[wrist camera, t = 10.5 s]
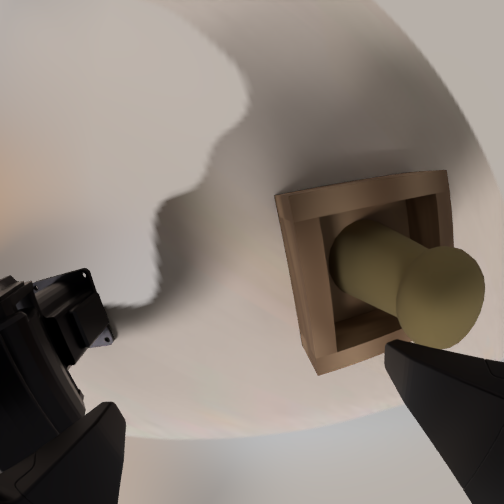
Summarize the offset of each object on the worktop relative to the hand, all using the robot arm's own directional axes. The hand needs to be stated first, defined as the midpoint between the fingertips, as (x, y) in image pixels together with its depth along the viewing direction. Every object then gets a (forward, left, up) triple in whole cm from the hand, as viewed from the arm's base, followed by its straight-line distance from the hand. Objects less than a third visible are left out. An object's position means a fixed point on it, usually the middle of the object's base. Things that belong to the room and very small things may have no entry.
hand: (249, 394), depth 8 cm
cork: (+10, -1, -13) cm, 16 cm away
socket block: (+10, -1, -13) cm, 16 cm away
